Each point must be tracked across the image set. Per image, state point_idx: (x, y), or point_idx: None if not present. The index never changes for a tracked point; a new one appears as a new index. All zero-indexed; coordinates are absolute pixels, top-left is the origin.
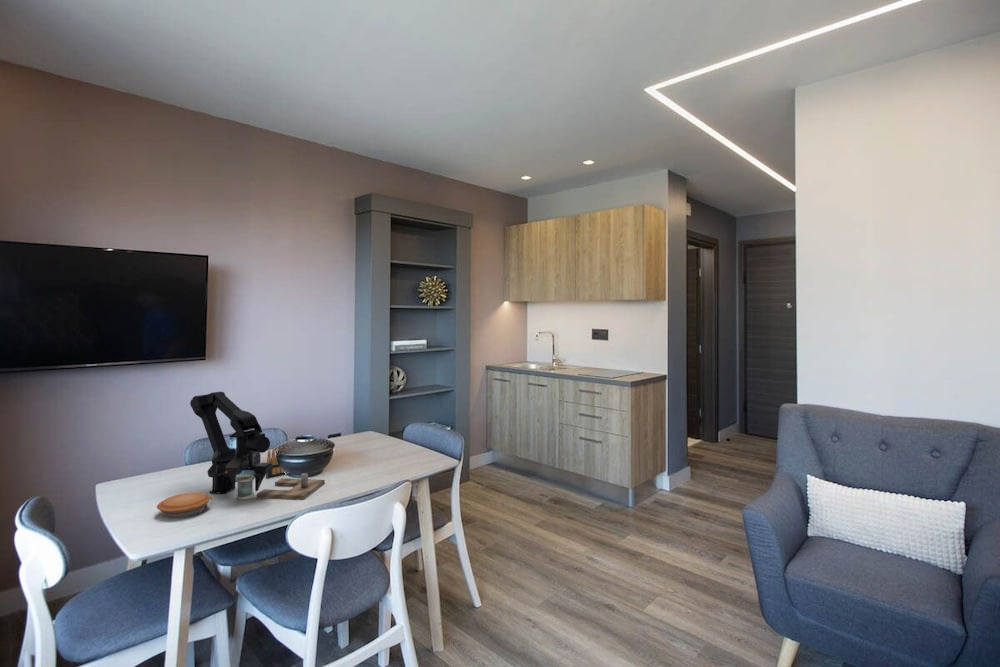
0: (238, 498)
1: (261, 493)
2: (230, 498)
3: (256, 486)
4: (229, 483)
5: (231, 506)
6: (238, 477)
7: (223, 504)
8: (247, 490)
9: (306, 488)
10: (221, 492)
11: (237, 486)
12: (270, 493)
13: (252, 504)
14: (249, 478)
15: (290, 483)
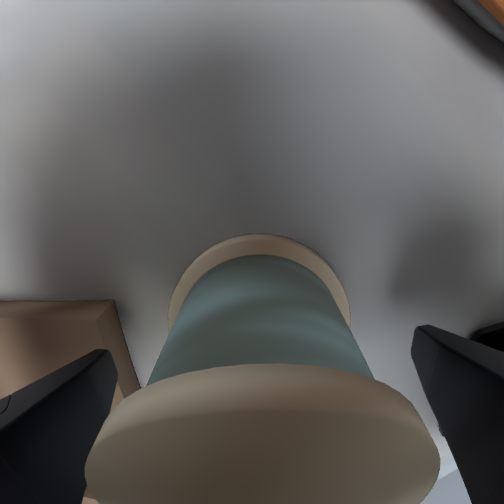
0: (279, 238)
1: (63, 335)
2: (380, 239)
3: (59, 375)
4: (496, 354)
5: (202, 25)
6: (407, 490)
7: (336, 60)
8: (175, 323)
9: None
10: (500, 326)
11: (354, 344)
12: (6, 338)
13: (38, 137)
14: (110, 487)
15: (89, 494)
